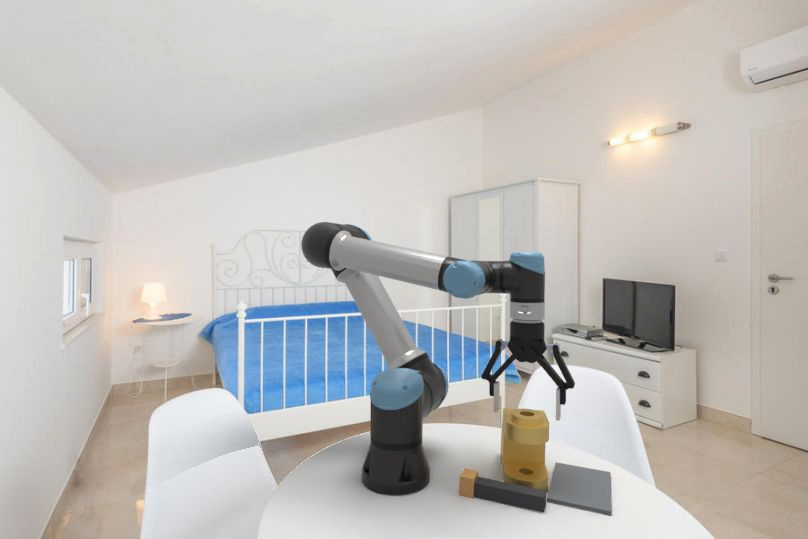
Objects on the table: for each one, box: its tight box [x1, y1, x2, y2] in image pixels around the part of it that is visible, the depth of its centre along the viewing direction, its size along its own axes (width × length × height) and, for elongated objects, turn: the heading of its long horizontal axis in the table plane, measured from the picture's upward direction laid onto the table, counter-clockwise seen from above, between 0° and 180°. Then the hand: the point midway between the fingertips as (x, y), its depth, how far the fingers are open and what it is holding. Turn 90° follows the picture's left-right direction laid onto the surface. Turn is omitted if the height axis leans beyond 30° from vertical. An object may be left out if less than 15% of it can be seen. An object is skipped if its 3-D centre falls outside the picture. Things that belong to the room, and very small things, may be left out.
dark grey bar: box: [458, 468, 547, 514], centre depth 94 cm, size 17×4×4 cm, turn 66°
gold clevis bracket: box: [500, 407, 550, 494], centre depth 105 cm, size 20×9×16 cm, turn 171°
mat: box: [546, 461, 612, 516], centre depth 99 cm, size 12×18×1 cm, turn 156°
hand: (526, 414), depth 104 cm, fingers open, 13 cm apart
